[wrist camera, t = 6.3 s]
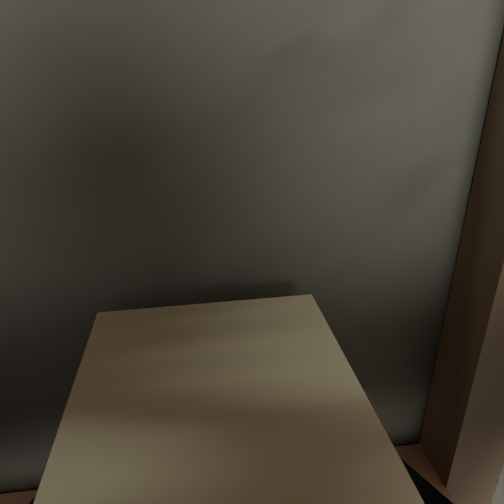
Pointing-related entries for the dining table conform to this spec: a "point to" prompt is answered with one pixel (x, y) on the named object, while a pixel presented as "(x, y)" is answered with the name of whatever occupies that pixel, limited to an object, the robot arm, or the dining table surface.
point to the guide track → (463, 343)
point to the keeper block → (220, 413)
